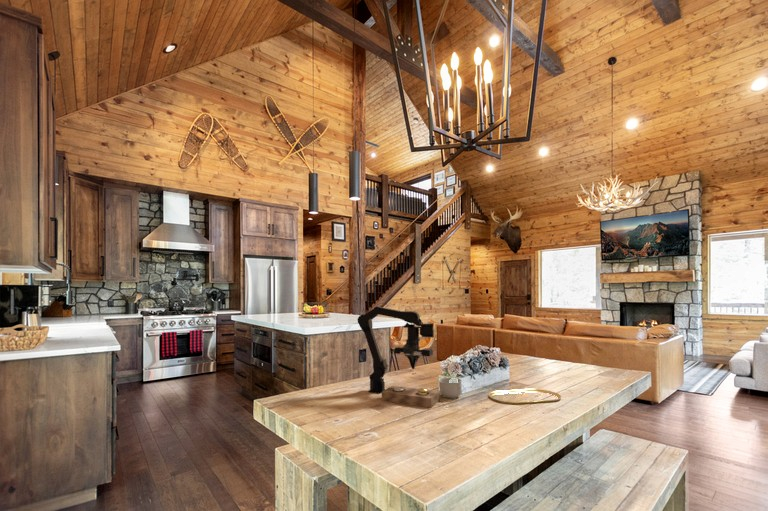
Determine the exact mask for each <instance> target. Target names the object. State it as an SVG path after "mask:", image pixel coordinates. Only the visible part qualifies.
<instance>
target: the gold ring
mask: <svg viewBox="0 0 768 511" xmlns="http://www.w3.org/2000/svg"><path fill="white" fill-rule="evenodd" d="M521 392H525V393H540V394H541V393H542V394H547V393H549V394H548V395H551V394H552V395H551V396H554V395H555V396H554V397H556V396H557V397H558V399H557V397H556V398H555V399H543V400H527V401H507V400H506V401H505V400H500V399H497V398H493V396H495V395H504V394H508V393H509V394H518V393H519V394H522V393H521ZM509 394H508V395H509ZM488 397H489V398H490V400H492V401H494V402H497V403H501V404H509V405H524V404H525V405H526V404H527V405H528V404H539V403H552V402H553V403H554V402H558V401H559V400H561V398H562V395H561V394H560V393H559V392H555V391H551V390H546V389H540V388H539V389H538V388H524V389H510V390H495V391H491V392H489V393H488Z"/></svg>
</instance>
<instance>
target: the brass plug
mask: <svg viewBox="0 0 768 511" xmlns="http://www.w3.org/2000/svg"><path fill="white" fill-rule="evenodd" d="M417 389H418V392H419V395H427V392H428V390H429V388H427V387H418V388H417Z"/></svg>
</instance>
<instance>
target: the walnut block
mask: <svg viewBox="0 0 768 511" xmlns="http://www.w3.org/2000/svg"><path fill="white" fill-rule="evenodd" d="M397 387H400V388H404V391H403V392H396V391H394V388H397ZM440 394H441V393H440V391H439V390H438V391H436V390H429V389H428V392H427V395H419V392H418V388H415V387H414V388H413V387H405V386H398V385H397V386H396V385H391V386H390V387H387V388H386V389H385V390H384V391H382V392H381V401H382V402H388V403H396V404H403V405H408V406H409V405H410V406H417V407H422V406H423V408H428V407H429V408H428V409H431V408H433V407H434V406H436V404H438V403H439V402H440V401H441V400H440V397H441V396H440Z"/></svg>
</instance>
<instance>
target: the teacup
mask: <svg viewBox="0 0 768 511" xmlns="http://www.w3.org/2000/svg"><path fill="white" fill-rule="evenodd" d="M451 378H452V376H451V377H450V376H449V377H447V376H443V377H442V378H440V379H439V380H438V384H439V385H438V386H439V392H440V394H441V395H442V397H444V398H446V399H456V398H458V397H459V396H460V395H461V394H462V390H463V386H462V379H461V378H459V377H456V378H457V379H458V383H449V380H450V379H451Z"/></svg>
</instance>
